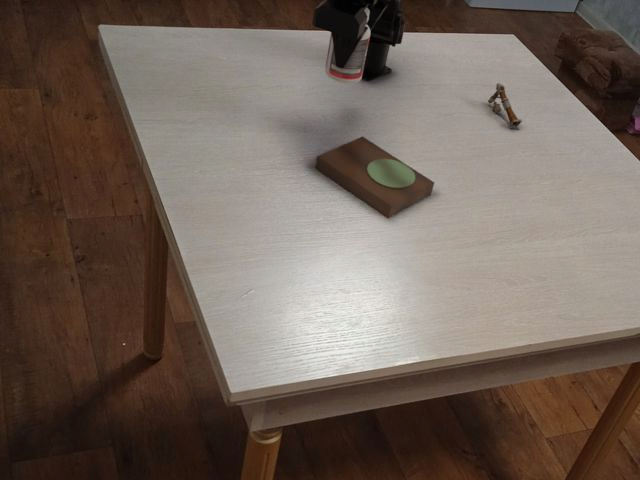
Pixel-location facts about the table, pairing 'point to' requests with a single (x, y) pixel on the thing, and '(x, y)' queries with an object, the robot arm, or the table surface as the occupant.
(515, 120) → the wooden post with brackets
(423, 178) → the wooden coaster tray
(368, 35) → the pill bottle
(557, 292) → the table surface
